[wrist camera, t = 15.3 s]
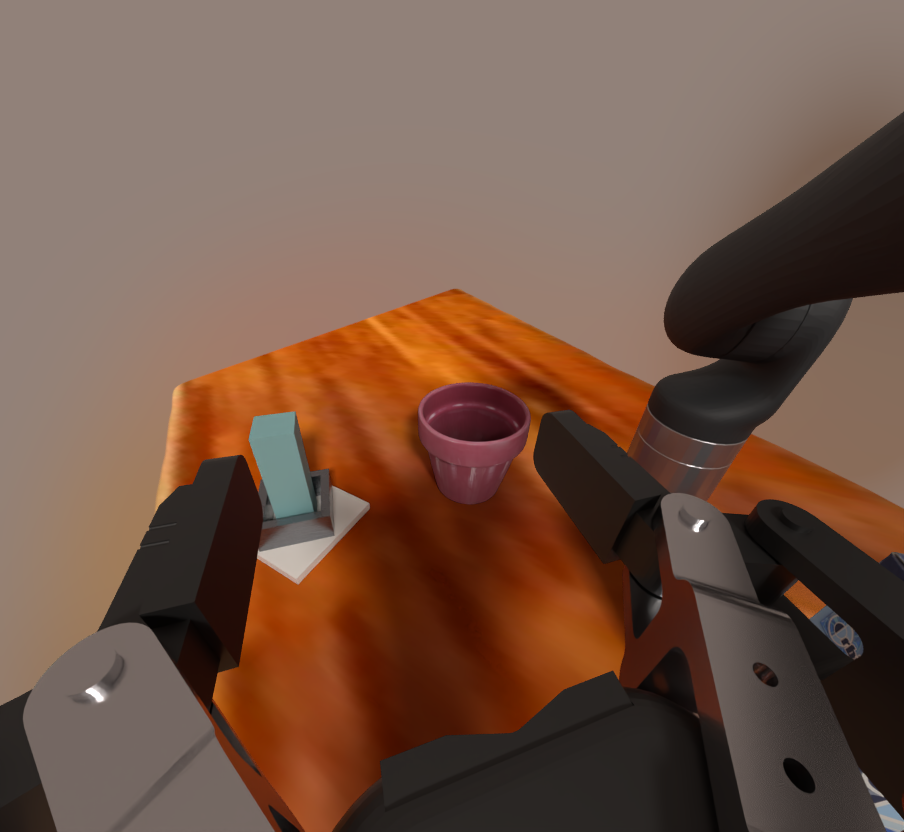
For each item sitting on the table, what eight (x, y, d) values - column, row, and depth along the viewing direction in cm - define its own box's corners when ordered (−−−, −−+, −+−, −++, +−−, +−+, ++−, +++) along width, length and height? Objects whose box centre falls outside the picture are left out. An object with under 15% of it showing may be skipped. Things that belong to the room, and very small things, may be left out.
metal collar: (267, 499, 45) (260, 479, 43) (332, 487, 47) (328, 468, 45) (259, 551, 39) (251, 531, 37) (334, 535, 41) (330, 515, 39)
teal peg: (283, 508, 44) (254, 416, 36) (317, 501, 45) (295, 411, 37) (281, 533, 41) (248, 439, 33) (317, 525, 42) (293, 433, 34)
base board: (303, 476, 50) (302, 471, 50) (370, 508, 46) (369, 503, 45) (224, 537, 41) (221, 531, 41) (298, 584, 37) (296, 579, 36)
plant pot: (454, 538, 43) (460, 458, 36) (400, 470, 52) (397, 397, 45) (536, 493, 50) (555, 419, 43) (476, 440, 59) (484, 373, 52)
